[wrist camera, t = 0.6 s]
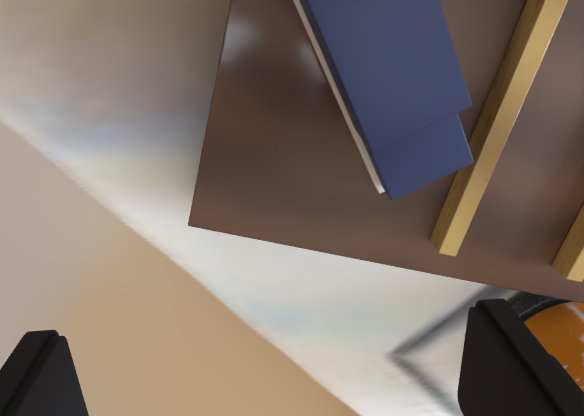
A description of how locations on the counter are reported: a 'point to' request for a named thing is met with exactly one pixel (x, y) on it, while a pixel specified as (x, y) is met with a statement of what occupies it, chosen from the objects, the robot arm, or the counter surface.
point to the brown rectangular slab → (427, 199)
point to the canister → (557, 330)
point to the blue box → (394, 86)
